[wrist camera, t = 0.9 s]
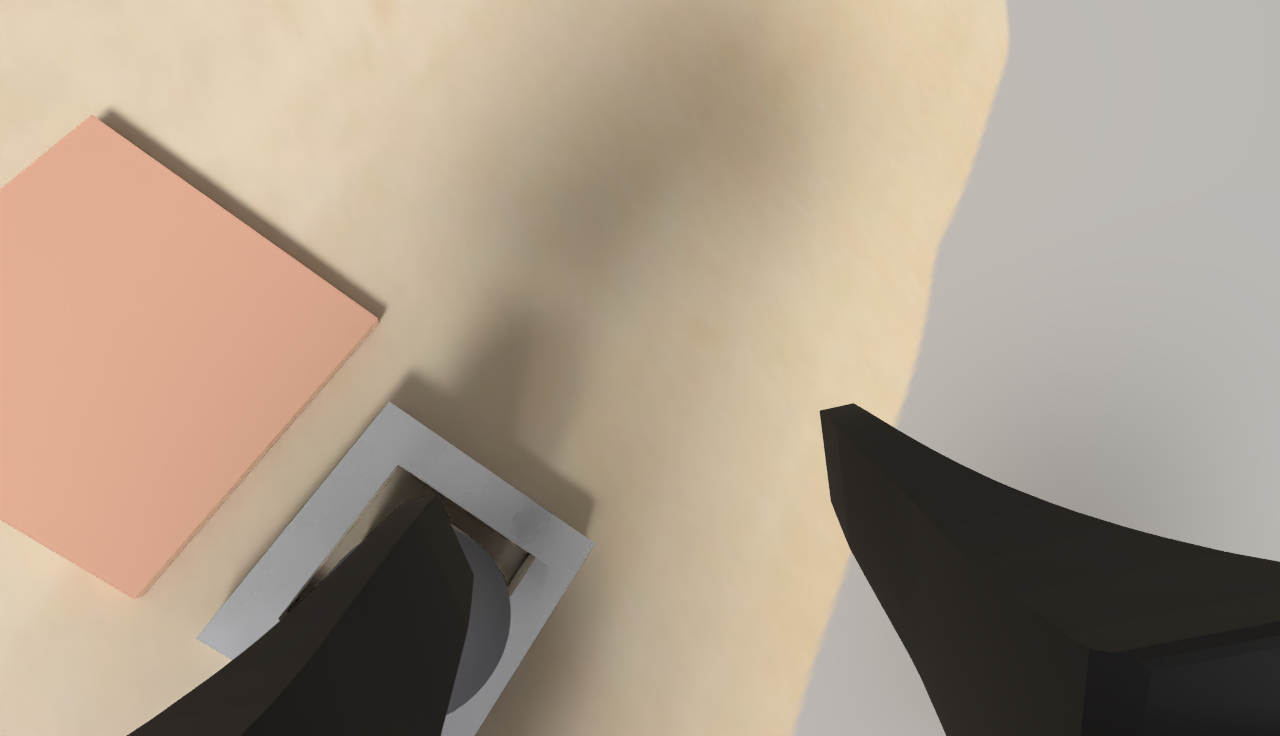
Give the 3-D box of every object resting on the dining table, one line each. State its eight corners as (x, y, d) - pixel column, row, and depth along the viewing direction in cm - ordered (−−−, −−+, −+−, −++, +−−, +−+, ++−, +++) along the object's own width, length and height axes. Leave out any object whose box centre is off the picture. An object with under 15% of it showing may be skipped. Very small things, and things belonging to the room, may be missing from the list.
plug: (428, 673, 22) (434, 765, 15) (315, 603, 21) (261, 662, 14) (505, 558, 23) (546, 588, 16) (402, 490, 23) (394, 488, 15)
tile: (142, 596, 20) (134, 599, 19) (-216, 384, 18) (-236, 380, 18) (379, 322, 24) (378, 318, 23) (99, 124, 22) (91, 114, 21)
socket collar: (441, 766, 22) (443, 785, 20) (211, 628, 20) (195, 638, 19) (584, 540, 24) (595, 543, 23) (390, 407, 23) (389, 401, 22)
